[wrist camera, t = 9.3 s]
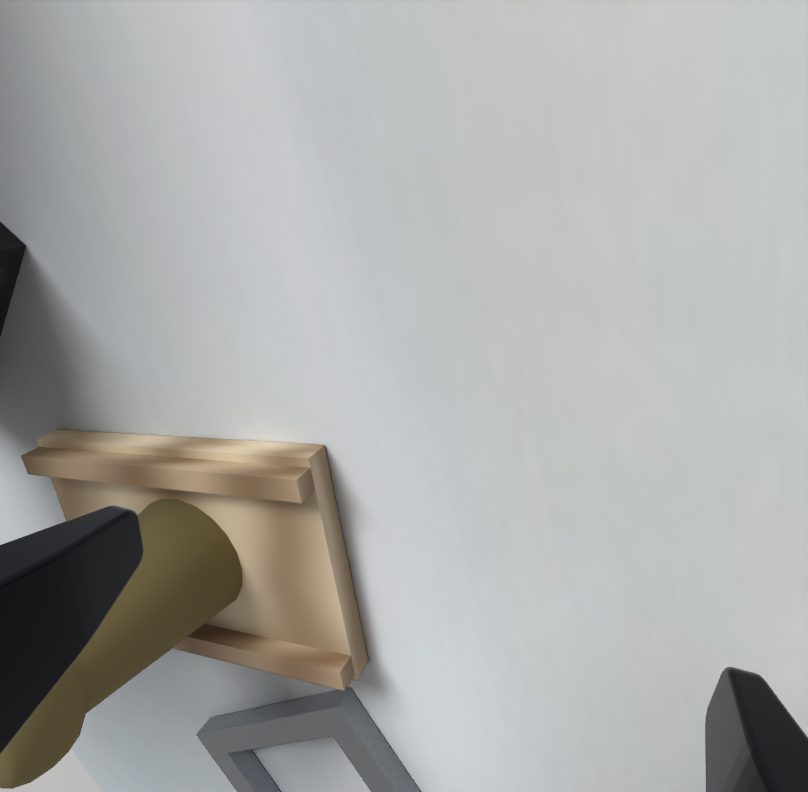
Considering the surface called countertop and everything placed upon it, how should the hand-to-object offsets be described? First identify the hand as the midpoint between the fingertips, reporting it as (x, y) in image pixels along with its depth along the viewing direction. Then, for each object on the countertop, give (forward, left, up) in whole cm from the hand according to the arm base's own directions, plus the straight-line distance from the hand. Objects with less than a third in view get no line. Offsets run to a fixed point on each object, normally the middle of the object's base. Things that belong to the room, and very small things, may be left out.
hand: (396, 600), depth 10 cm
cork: (+11, +17, -12) cm, 23 cm away
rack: (+11, +17, -13) cm, 24 cm away
